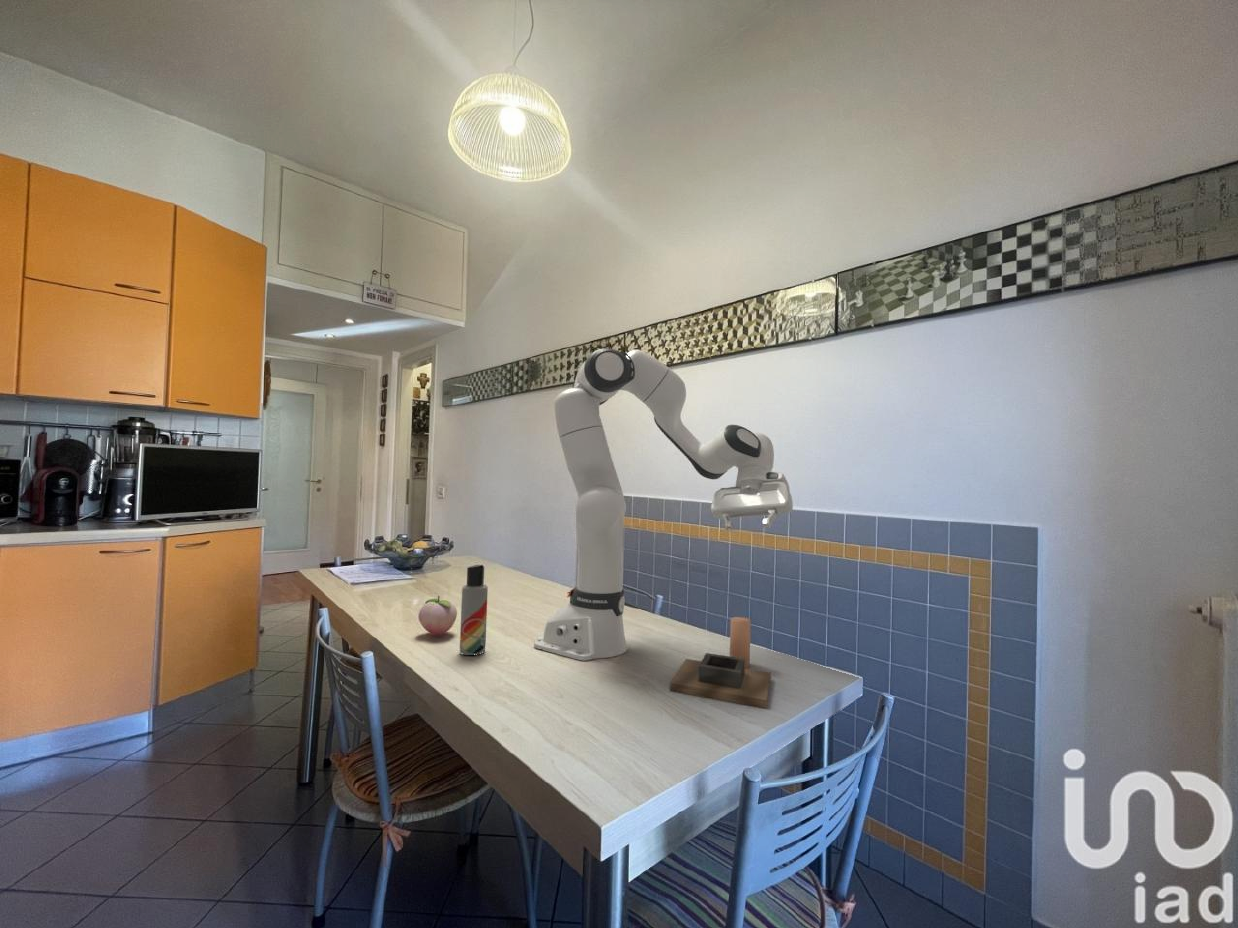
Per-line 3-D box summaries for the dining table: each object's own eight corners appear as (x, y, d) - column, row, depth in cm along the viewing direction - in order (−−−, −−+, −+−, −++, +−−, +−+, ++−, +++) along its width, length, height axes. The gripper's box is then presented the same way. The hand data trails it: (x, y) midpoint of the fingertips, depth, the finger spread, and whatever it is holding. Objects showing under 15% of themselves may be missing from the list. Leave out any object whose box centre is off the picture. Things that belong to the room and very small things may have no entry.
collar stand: (669, 690, 95) (670, 667, 95) (685, 665, 108) (686, 645, 108) (766, 708, 89) (766, 683, 89) (770, 679, 102) (770, 657, 102)
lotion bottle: (477, 657, 109) (481, 567, 110) (454, 655, 110) (458, 566, 111) (489, 649, 115) (492, 563, 115) (467, 646, 116) (470, 562, 116)
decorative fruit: (463, 633, 125) (465, 594, 126) (441, 643, 118) (443, 601, 118) (434, 628, 129) (436, 590, 129) (411, 637, 121) (413, 596, 121)
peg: (728, 666, 109) (729, 620, 109) (730, 659, 113) (731, 615, 113) (748, 669, 107) (749, 623, 107) (750, 662, 111) (751, 618, 111)
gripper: (711, 481, 131) (702, 523, 122) (789, 472, 120) (785, 517, 111) (719, 496, 135) (711, 538, 126) (796, 488, 124) (793, 533, 115)
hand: (747, 528), depth 119 cm, fingers open, 8 cm apart
